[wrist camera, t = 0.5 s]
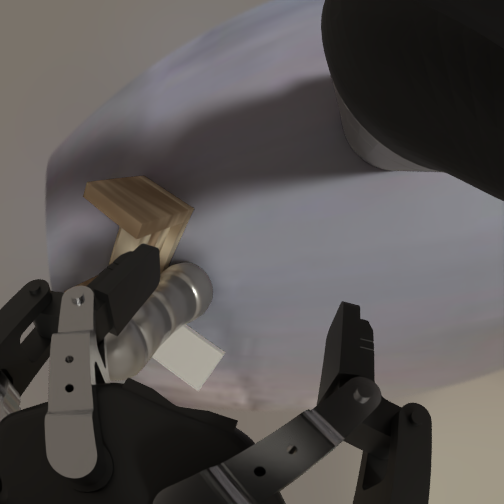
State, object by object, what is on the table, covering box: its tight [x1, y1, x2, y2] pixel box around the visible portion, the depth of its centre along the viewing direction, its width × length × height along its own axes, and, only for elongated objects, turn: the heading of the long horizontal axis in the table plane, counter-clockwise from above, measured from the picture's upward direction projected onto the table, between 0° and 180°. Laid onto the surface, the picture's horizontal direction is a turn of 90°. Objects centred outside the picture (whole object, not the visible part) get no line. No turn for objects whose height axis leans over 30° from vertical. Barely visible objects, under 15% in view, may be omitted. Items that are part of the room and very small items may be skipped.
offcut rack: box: [65, 176, 194, 292], centre depth 32 cm, size 16×8×9 cm, turn 151°
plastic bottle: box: [105, 262, 213, 381], centre depth 26 cm, size 6×7×20 cm
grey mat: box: [152, 324, 226, 391], centre depth 39 cm, size 9×10×1 cm
